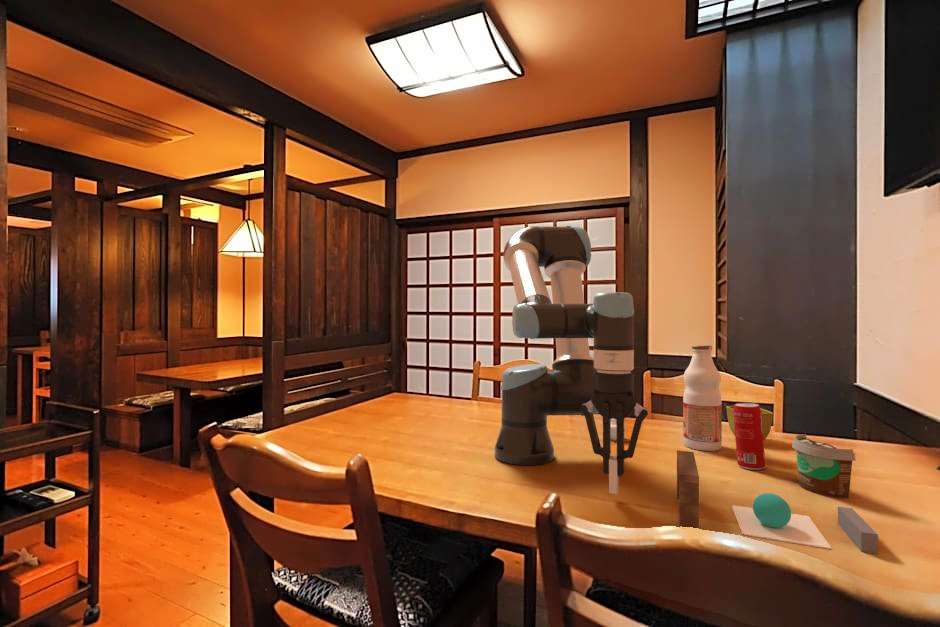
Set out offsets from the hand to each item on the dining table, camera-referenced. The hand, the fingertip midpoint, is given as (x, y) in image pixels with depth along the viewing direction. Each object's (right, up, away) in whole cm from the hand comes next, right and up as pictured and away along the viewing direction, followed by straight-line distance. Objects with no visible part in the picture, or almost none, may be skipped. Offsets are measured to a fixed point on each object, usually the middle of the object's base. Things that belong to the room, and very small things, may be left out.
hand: (613, 491), depth 89 cm
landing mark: (+25, -2, -10) cm, 27 cm away
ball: (+24, +1, -11) cm, 26 cm away
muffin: (+14, -2, +44) cm, 46 cm away
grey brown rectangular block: (+12, -2, -5) cm, 13 cm away
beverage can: (+39, -2, +20) cm, 43 cm away
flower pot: (+52, -2, +42) cm, 67 cm away
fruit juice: (+36, -2, +36) cm, 51 cm away
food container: (+44, -2, +5) cm, 44 cm away
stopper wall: (+35, -2, -15) cm, 38 cm away
